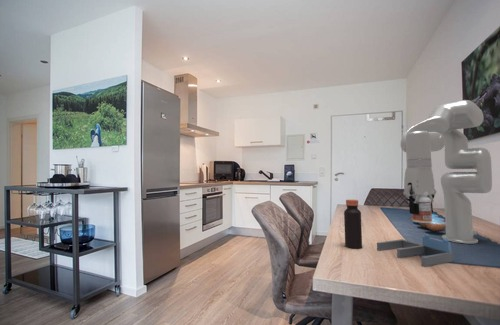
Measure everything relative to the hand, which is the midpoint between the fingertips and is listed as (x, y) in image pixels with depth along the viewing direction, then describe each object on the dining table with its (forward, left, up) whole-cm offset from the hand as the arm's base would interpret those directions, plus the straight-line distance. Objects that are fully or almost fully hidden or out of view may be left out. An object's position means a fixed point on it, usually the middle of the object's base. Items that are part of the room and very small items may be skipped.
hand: (421, 212), depth 89 cm
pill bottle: (0, 0, -3) cm, 3 cm away
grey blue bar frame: (0, -5, -17) cm, 17 cm away
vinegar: (+12, -22, -17) cm, 30 cm away
